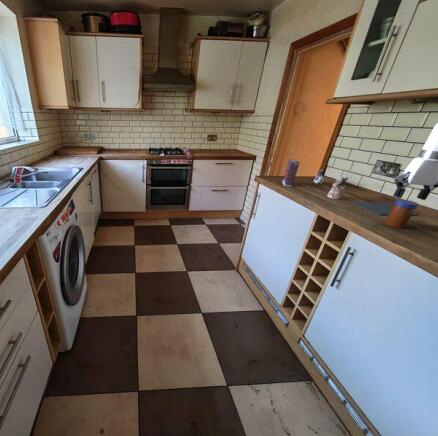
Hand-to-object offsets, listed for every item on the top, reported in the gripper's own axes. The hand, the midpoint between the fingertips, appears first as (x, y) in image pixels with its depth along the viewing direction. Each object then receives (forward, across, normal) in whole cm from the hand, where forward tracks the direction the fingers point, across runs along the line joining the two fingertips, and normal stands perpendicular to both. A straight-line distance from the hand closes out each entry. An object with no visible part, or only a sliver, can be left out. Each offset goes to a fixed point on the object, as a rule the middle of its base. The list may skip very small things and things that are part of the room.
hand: (408, 197), depth 95 cm
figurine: (+13, +5, -35) cm, 37 cm away
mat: (+13, -10, -20) cm, 26 cm away
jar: (+13, 0, 0) cm, 13 cm away
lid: (+2, 0, 0) cm, 2 cm away
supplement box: (+13, +23, -56) cm, 62 cm away
